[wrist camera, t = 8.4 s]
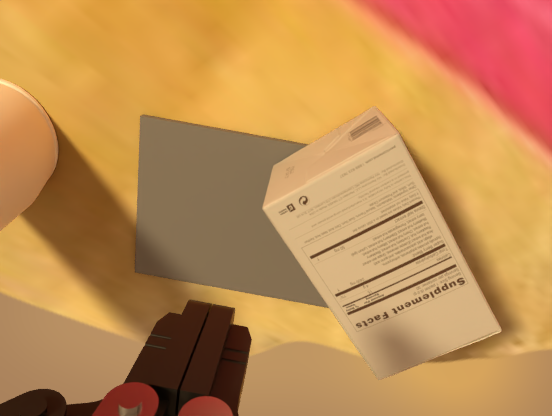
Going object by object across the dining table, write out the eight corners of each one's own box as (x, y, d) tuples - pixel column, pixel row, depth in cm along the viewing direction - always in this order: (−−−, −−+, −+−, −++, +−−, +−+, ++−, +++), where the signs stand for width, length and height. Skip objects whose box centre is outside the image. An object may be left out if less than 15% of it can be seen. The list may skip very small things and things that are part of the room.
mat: (399, 161, 32) (401, 163, 32) (356, 308, 38) (356, 313, 37) (143, 114, 33) (140, 116, 32) (137, 268, 38) (134, 272, 38)
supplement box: (376, 101, 30) (459, 260, 35) (270, 163, 33) (361, 304, 37) (403, 130, 22) (508, 333, 26) (259, 210, 24) (378, 385, 29)
